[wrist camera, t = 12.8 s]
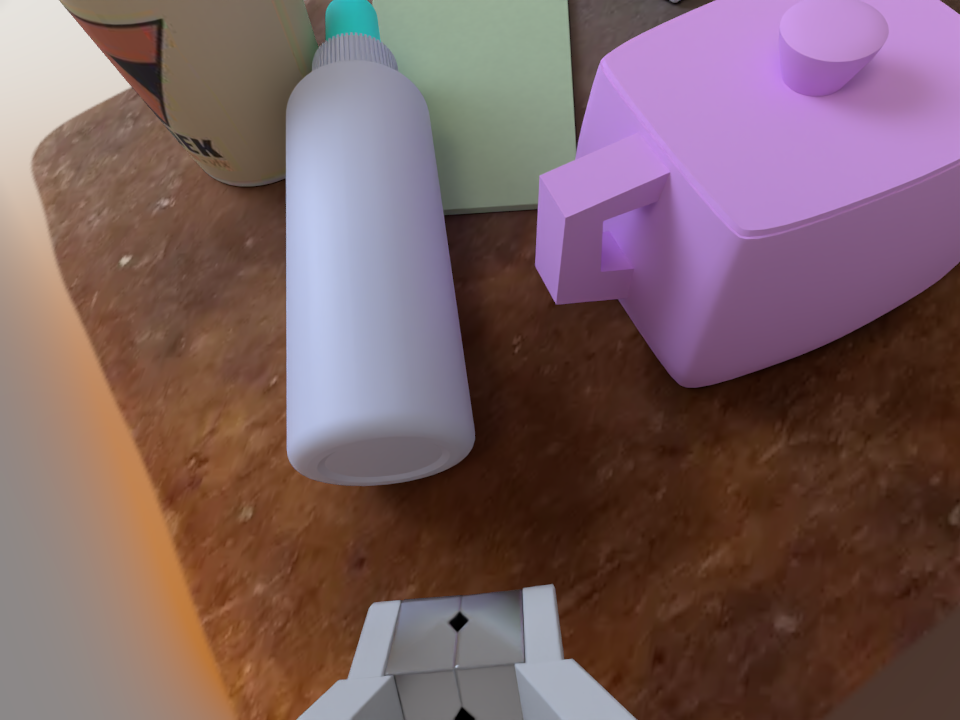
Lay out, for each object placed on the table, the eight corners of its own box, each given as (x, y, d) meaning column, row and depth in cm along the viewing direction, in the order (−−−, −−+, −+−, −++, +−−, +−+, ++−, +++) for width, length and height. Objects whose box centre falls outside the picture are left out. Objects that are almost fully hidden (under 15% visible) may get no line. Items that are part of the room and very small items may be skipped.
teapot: (857, 93, 28) (991, -179, 19) (1040, 261, 24) (1333, 2, 15) (497, 242, 27) (461, 26, 18) (612, 452, 22) (640, 300, 13)
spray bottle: (358, 415, 16) (330, -76, 26) (252, 481, 20) (261, 29, 30) (515, 444, 20) (440, 9, 30) (402, 495, 24) (368, 93, 34)
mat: (340, 222, 29) (337, 216, 29) (378, -18, 37) (376, -25, 37) (579, 207, 28) (579, 200, 27) (565, -39, 36) (565, -46, 35)
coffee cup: (151, 134, 33) (-43, -118, 23) (295, 45, 35) (177, -226, 25) (232, 232, 30) (43, -17, 19) (389, 127, 31) (297, -155, 21)
